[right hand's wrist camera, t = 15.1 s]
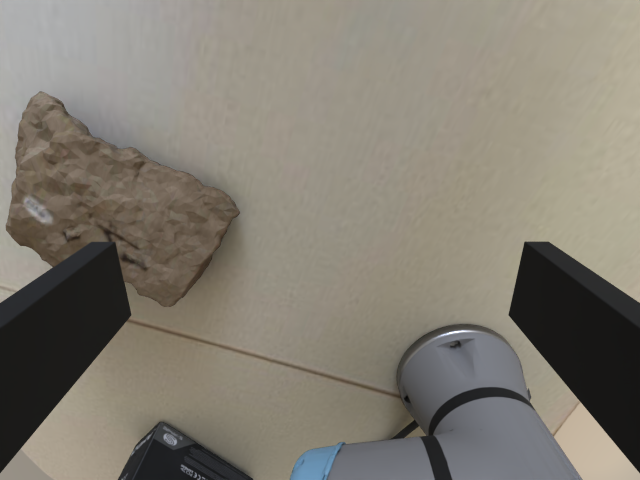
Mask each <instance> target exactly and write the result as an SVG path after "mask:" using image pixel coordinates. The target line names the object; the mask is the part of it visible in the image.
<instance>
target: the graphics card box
mask: <svg viewBox="0 0 640 480" xmlns="http://www.w3.org/2000/svg"><path fill="white" fill-rule="evenodd" d="M118 480H253V479H252V478H251V477H249V476H247V475H246V474H244V473H243V472H241V471H240V470H238V469H236V468H235V467H233V466H232V465H230V464H229V463H227V462H226V461H224V460H222V459H221V458H219V457H218V456H216V455H215V454H213V453H211V452H210V451H208V450H206V449H205V448H203V447H202V446H200V445H198V444H197V443H195V442H194V441H193V440H191V439H189V438H188V437H186V436H185V435H183V434H181V433H180V432H178V431H177V430H175V429H174V428H172V427H170V426H169V425H167V424H166V423H164V422H159V423H158V424H157V425H156V426H155V427H154V428H153V429H152V430H151V431H150V432H149V433H148V434H147V435H146V436H145V437H144V438H143V439H142V440H141V441H140V442H138V444H137V445H136V446H135V448H134V450H133V452H132V454H131V456H130V458H129V460H128V461H127V463H126V465H125V467H124V469H123V471H122V473H121V475H120V477H119V479H118Z"/></svg>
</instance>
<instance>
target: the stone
mask: <svg viewBox="0 0 640 480" xmlns="http://www.w3.org/2000/svg"><path fill="white" fill-rule="evenodd" d="M15 159H16V163H17V169H16V179H15V180H14V182H13V184H12V200H11V205H10V210H9V216H8V221H7V223H6V231H7V232H8V233H9V234H10V235H11V237H12V238H13V239H14V240H15V241H16V242H17V243H18V244H19V245H20V246H27V247H29V248H32V249H33V250H34V251H36V252H37V253H38V254H39V255H40V257H41V258H42V260H44V261H46V262H48V263H49V264H50V265H51V266H52V267H55V266H56V265H58V264H59V263H61V262H62V261H64V260H65V259H67V258H68V257H70V256H71V255H73V254H74V253H76V252H77V251H78V250H80V249H81V248H83V247H84V246H86V245H87V244H89V243H90V242H116V247H117V252H118V256H119V261H120V265H121V270H122V274H123V279H124V282H128V283H131V284H132V285H133V286H134V287H135V288H136V290H137V292H138V294H139V295H142V296H146V297H149V298H152V299H153V300H155V301H157V302H158V303H159V304H160V305H162V306H164V307H170V306H173V305H175V304H176V302H177V301H178V300H179V299H180V298H183V297H184V296H185V295H186V293H187V292H188V290H189V289H190V288H191V287H192V286H193V285H194V283H195V282H196V281H197V280H198V279H199V278H200V277H201V275H202V273H203V272H204V270H205V268H206V267H208V265H209V263H210V261H211V259H212V253H213V252H214V251H215V250H216V249H217V248H218V247H219V246H220V244H221V239H222V238H223V236H224V235H225V233H226V232H227V228H228V226H229V225H230V223H231V221H232V219H233V218H235V217H237V216H238V215H239V213H240V211H239V210H238V208H237V207H236V205H235V203H234V201H233V200H231V198H230V197H229V196H228V195H226V194H225V193H224V192H223V191H221V190H218V189H216V188H214V187H207V186H203V185H202V183H201V182H200V181H199V180H197V179H196V178H195V177H193V176H192V175H191V174H188V173H185V172H181V171H176V170H174V169H171V168H169V167H166V166H161V165H160V164H159V163H157V162H154V161H151V160H149V159H148V158H147V157H146V156H144V155H143V154H141V153H140V152H139V151H138V150H137V149H135V148H132V147H129V148H127V149H118V148H117V147H116V146H115V145H112V144H109V143H106V142H105V141H103V140H102V139H100V138H95V137H92V135H91V134H90V132H89V130H88V128H87V127H86V126H85V125H84V124H83V123H82V122H80V121H79V120H78V119H76V118H74V117H72V116H70V115H69V114H68V112H67V111H66V109H65V107H64V104H63V103H62V101H60V100H58V99H57V98H54V97H52V96H49V95H48V94H46V93H44V92H39V93H38V94H37V95H35V96H34V97H32V98H31V99H30V101H29V103H28V105H27V108H26V110H25V111H24V112H23V114H22V120H21V122H20V123H19V131H18V143H17V147H16V155H15Z"/></svg>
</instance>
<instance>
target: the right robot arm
mask: <svg viewBox="0 0 640 480" xmlns="http://www.w3.org/2000/svg"><path fill="white" fill-rule="evenodd" d="M130 316H131V311H130V307H129V302H128V297H127V293H126V288H125V284H124V279H123V274H122V270H121V265H120V261H119V256H118V252H117V247H116V242H90V243H89V244H87V245H86V246H84V247H83V248H81V249H80V250H78V251H77V252H76V253H74V254H73V255H71V256H70V257H68V258H67V259H65V260H64V261H62V262H61V263H59V264H58V265H56V266H55V267H53V268H52V269H50V270H49V271H47V272H46V273H44V274H43V275H41V276H40V277H38V278H37V279H35V280H34V281H32V282H31V283H29V284H28V285H26V286H25V287H24V288H22V289H21V290H19V291H18V292H16V293H15V294H13V295H12V296H10V297H9V298H7V299H6V300H4V301H3V302H1V303H0V473H1V472H2V470H3V469H4V468H5V467H6V466H7V464H8V463H9V462H10V461H11V460H12V458H13V457H14V456H15V455H16V453H17V452H18V451H19V450H20V449H21V447H22V446H23V445H24V444H25V443H26V441H27V440H28V439H29V438H30V437H31V435H32V434H33V433H34V432H35V431H36V429H37V428H38V427H39V426H40V425H41V423H42V422H43V421H44V420H45V419H46V417H47V416H48V415H49V414H50V413H51V411H52V410H53V409H54V408H55V407H56V405H57V404H58V403H59V402H60V400H61V399H62V398H63V397H64V396H65V394H66V393H67V392H68V391H69V390H70V388H71V387H72V386H73V385H74V384H75V382H76V381H77V380H78V379H79V378H80V376H81V375H82V374H83V373H84V372H85V370H86V369H87V368H88V367H89V366H90V364H91V363H92V362H93V361H94V360H95V358H96V357H97V356H98V355H99V354H100V352H101V351H102V350H103V349H104V348H105V346H106V345H107V344H108V343H109V341H110V340H111V339H112V338H113V337H114V335H115V334H116V333H117V332H118V331H119V329H120V328H121V327H122V326H123V325H124V323H125V322H126V321H127V320H128V319H129V317H130ZM509 316H510V317H511V319H512V320H513V321H514V322H515V323H516V325H517V326H518V327H519V328H520V329H521V331H522V332H523V333H524V334H525V335H526V337H527V338H528V339H529V340H530V341H531V343H532V344H533V345H534V346H535V348H536V349H537V350H538V351H539V352H540V354H541V355H542V356H543V357H544V358H545V360H546V361H547V362H548V363H549V364H550V366H551V367H552V368H553V369H554V370H555V372H556V373H557V374H558V375H559V376H560V378H561V379H562V380H563V381H564V382H565V384H566V385H567V386H568V387H569V388H570V390H571V391H572V392H573V393H574V394H575V396H576V397H577V398H578V399H579V400H580V402H581V403H582V404H583V405H584V407H585V408H586V409H587V410H588V411H589V413H590V414H591V415H592V416H593V417H594V419H595V420H596V421H597V422H598V423H599V425H600V426H601V427H602V428H603V429H604V431H605V432H606V433H607V434H608V435H609V437H610V438H611V439H612V440H613V441H614V443H615V444H616V445H617V446H618V447H619V449H620V450H621V451H622V452H623V453H624V455H625V456H626V457H627V458H628V459H629V461H630V462H631V463H632V464H633V466H634V467H635V468H636V469H637V470H638V471H639V473H640V303H639V302H637V301H636V300H634V299H633V298H631V297H630V296H628V295H627V294H625V293H624V292H622V291H621V290H619V289H618V288H616V287H615V286H614V285H612V284H611V283H609V282H608V281H606V280H605V279H603V278H602V277H600V276H599V275H597V274H596V273H594V272H593V271H591V270H590V269H588V268H587V267H585V266H584V265H582V264H581V263H579V262H578V261H576V260H575V259H573V258H572V257H570V256H569V255H567V254H566V253H564V252H563V251H562V250H560V249H559V248H557V247H556V246H554V245H553V244H551V243H550V242H524V247H523V252H522V256H521V261H520V265H519V270H518V274H517V279H516V284H515V288H514V293H513V297H512V302H511V307H510V311H509ZM397 384H398V388H399V392H400V396H401V399H402V401H403V404H404V405H405V407H406V408H407V410H408V411H409V413H410V414H411V415H412V417H413V418H414V419H415V420H414V421H413V422H411V423H410V424H409V425H408V426H406V427H405V428H404V429H403V430H402V431H400V432H399V433H398V434H397V435H396V436H395V437H393V438H392V439H390V440H382V441H372V442H362V443H352V444H346V443H345V442H340V443H338V444H337V445H336V446H329V447H323V448H317V449H311V450H308V451H306V452H305V453H304V454H302V455H301V456H300V458H299V459H298V460H297V462H296V464H295V466H294V468H293V471H292V474H291V477H290V480H582V478H581V477H580V475H579V474H578V472H577V471H576V469H575V468H574V467H573V465H572V464H571V462H570V461H569V459H568V458H567V456H566V455H565V453H564V452H563V450H562V449H561V447H560V446H559V444H558V443H557V442H556V440H555V439H554V437H553V436H552V434H551V433H550V431H549V430H548V428H547V427H546V425H545V424H544V422H543V421H542V419H541V418H540V416H539V415H538V414H537V412H536V411H535V409H534V408H533V406H532V405H531V403H530V399H531V395H530V391H529V388H528V391H527V388H526V384H525V380H524V376H523V370H522V366H521V363H520V360H519V358H518V356H517V354H516V353H515V351H514V350H513V349H512V347H511V346H510V345H509V343H508V342H507V341H506V340H505V339H504V338H503V337H502V336H501V335H499V334H498V333H496V332H494V331H492V330H490V329H488V328H485V327H481V326H477V325H468V324H460V325H451V326H446V327H443V328H440V329H437V330H434V331H432V332H430V333H428V334H426V335H424V336H423V337H421V338H420V339H418V340H417V341H416V342H415V343H414V344H413V345H412V346H411V347H410V348H409V349H408V350H407V351H406V353H405V354H404V356H403V357H402V359H401V361H400V364H399V367H398V371H397ZM418 426H420V427H421V429H422V430H423V431H424V433H425V434H426V435H427V436H422V437H412V438H405V437H406V436H407V435H408V434H409V433H411V432H412V431H413V430H415V429H416V428H417V427H418Z"/></svg>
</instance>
